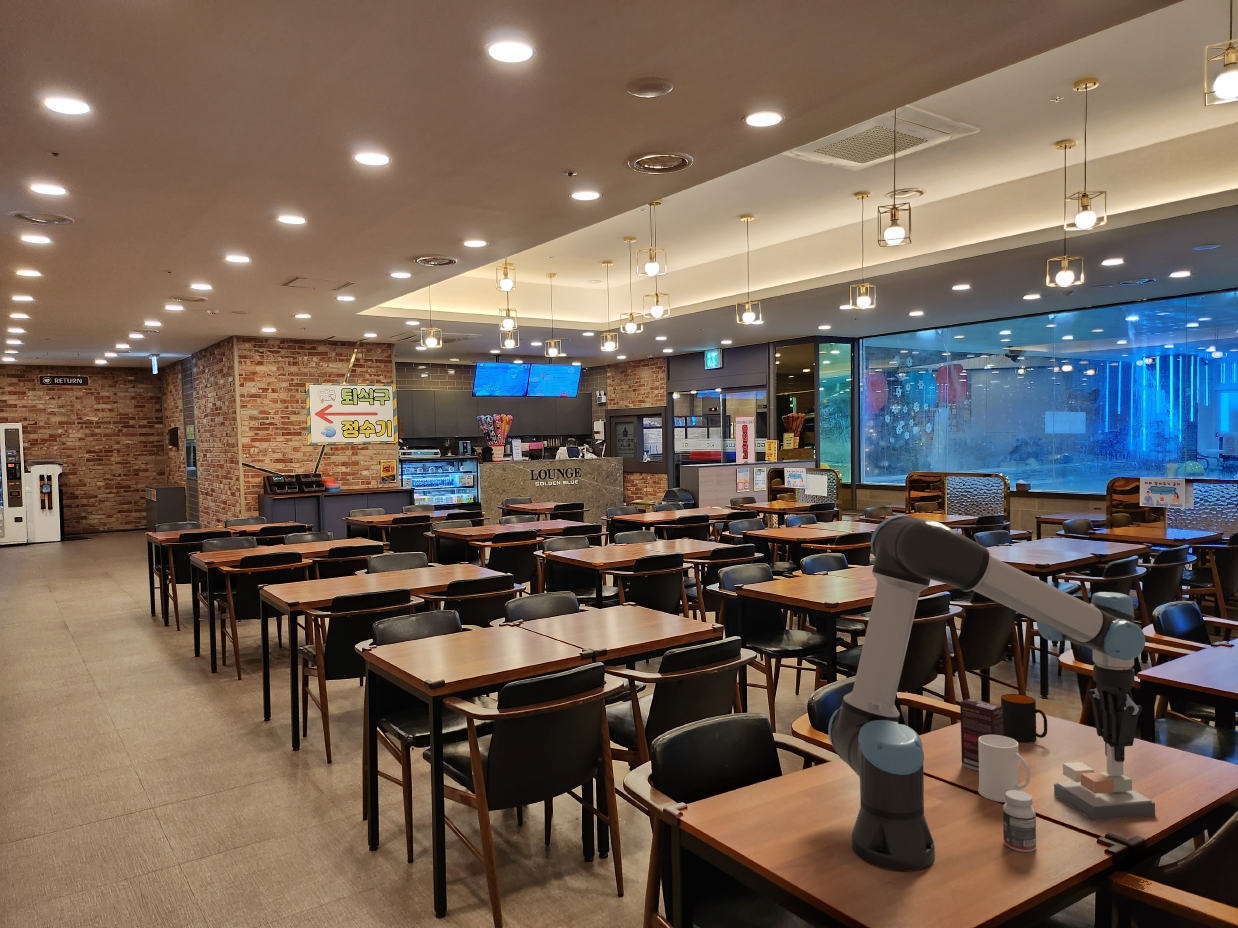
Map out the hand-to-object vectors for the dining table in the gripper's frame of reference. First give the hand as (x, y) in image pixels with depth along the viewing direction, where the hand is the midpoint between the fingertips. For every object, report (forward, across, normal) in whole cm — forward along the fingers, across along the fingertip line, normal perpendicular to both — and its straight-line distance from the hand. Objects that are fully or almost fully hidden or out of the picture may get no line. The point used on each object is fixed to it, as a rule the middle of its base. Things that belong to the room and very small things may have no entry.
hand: (1115, 773), depth 167 cm
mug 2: (+7, +7, +21) cm, 23 cm away
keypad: (+7, 0, +3) cm, 7 cm away
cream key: (+2, +3, +6) cm, 7 cm away
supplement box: (+7, +22, +17) cm, 29 cm away
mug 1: (+7, +38, -5) cm, 39 cm away
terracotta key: (+2, -3, +6) cm, 7 cm away
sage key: (+3, 0, 0) cm, 3 cm away
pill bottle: (+7, -13, +31) cm, 34 cm away
